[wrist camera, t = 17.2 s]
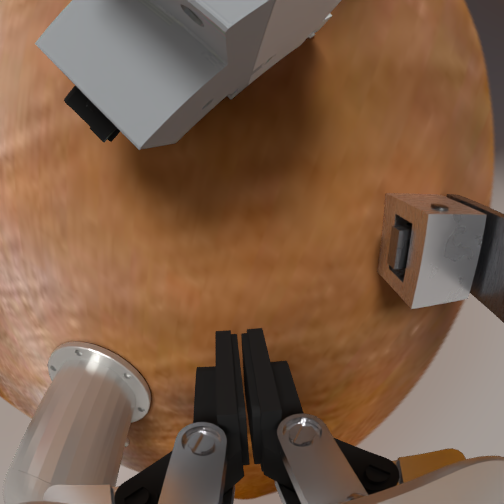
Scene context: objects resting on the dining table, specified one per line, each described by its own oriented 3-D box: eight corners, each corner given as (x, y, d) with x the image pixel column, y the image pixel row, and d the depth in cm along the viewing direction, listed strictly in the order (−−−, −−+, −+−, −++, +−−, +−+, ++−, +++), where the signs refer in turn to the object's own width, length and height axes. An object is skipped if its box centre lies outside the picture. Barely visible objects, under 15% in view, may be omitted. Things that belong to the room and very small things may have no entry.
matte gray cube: (429, 266, 26) (467, 298, 20) (377, 271, 25) (411, 309, 19) (440, 193, 23) (487, 212, 17) (385, 191, 23) (428, 211, 17)
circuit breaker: (104, 93, 18) (-45, 69, 5) (245, -26, 15) (262, -160, 2) (168, 158, 21) (60, 207, 7) (313, 35, 18) (419, -66, 4)
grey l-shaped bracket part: (447, 264, 26) (541, 344, 13) (370, 271, 25) (460, 380, 12) (458, 194, 23) (574, 251, 10) (378, 191, 23) (505, 261, 10)
